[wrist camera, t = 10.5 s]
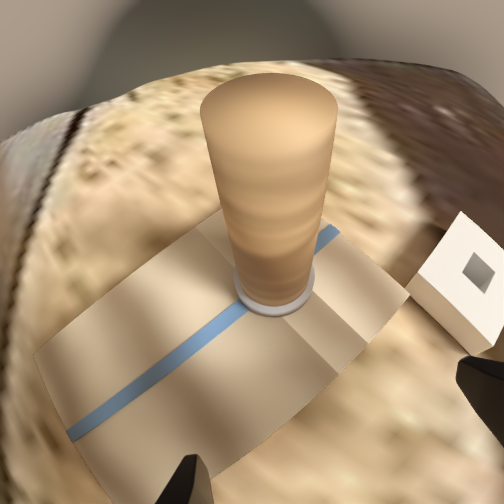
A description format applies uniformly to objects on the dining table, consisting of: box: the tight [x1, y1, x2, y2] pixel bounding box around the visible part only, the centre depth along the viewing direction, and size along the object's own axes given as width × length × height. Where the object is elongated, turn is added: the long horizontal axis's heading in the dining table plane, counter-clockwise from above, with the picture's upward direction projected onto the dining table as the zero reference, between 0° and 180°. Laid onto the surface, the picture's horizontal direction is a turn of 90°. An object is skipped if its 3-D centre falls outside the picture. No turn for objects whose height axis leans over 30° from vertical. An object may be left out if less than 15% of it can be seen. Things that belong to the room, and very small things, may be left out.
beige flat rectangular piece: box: [33, 208, 410, 504], centre depth 16 cm, size 20×12×3 cm, turn 131°
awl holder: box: [404, 211, 504, 356], centre depth 17 cm, size 7×7×2 cm
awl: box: [200, 73, 338, 318], centre depth 13 cm, size 4×4×13 cm
